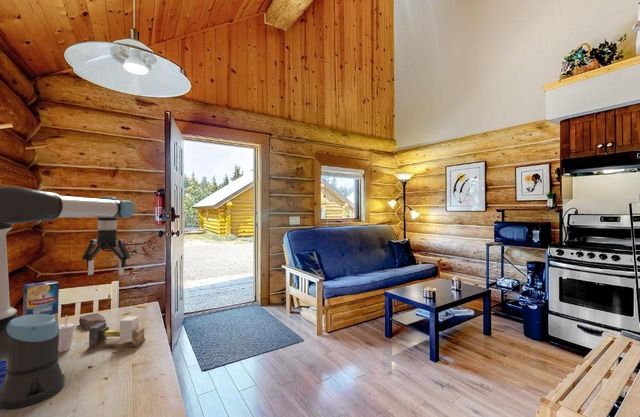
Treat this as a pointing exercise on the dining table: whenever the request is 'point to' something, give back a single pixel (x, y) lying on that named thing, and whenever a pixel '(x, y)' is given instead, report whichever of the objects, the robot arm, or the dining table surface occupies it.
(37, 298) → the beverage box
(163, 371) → the dining table surface
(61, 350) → the smoothie
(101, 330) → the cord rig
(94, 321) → the stone
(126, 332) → the sleeve
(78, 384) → the dining table surface
